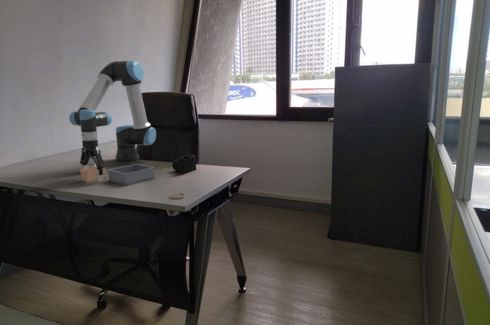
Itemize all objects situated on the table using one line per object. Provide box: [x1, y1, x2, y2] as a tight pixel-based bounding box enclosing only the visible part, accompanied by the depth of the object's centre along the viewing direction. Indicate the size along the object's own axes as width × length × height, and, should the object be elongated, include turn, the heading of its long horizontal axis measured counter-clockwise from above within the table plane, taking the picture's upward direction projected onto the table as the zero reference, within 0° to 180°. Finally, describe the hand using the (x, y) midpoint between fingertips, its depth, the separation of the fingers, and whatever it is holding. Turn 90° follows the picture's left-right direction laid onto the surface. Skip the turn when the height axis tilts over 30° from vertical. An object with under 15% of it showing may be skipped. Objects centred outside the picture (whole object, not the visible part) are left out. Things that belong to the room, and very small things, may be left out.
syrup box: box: [88, 146, 100, 168], centre depth 210 cm, size 6×6×14 cm
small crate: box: [80, 166, 107, 184], centre depth 193 cm, size 10×7×6 cm
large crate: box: [107, 163, 156, 186], centre depth 192 cm, size 18×16×6 cm
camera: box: [171, 154, 197, 175], centre depth 210 cm, size 14×11×10 cm
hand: (93, 178), depth 194 cm, fingers open, 13 cm apart
